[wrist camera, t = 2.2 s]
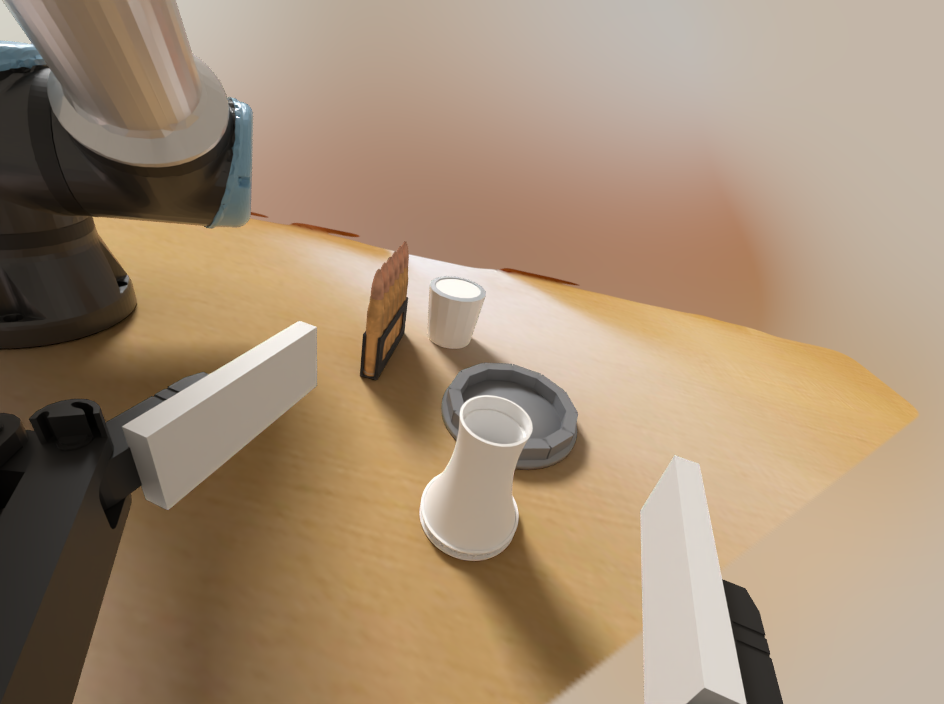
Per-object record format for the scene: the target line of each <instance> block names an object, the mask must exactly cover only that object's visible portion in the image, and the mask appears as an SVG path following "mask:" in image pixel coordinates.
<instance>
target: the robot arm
mask: <svg viewBox="0 0 944 704" xmlns="http://www.w3.org/2000/svg"><path fill="white" fill-rule="evenodd" d="M2 1H3V2H4V4H5V5H6V7H7V8H8V10H9V11H10V12H11V14H12V15H13V17H14V18H15V20H16V21H17V22H18V24H19V25H20V27H21V28H22V30H23V31H24V32H25V34H26V35H27V37H28V38H29V40H30V41H31V42H32V44H27V43H20V42H10V41H0V348H24V347H34V346H43V345H49V344H55V343H60V342H65V341H70V340H74V339H78V338H81V337H85V336H88V335H91V334H94V333H97V332H99V331H102V330H104V329H107V328H109V327H111V326H113V325H115V324H117V323H118V322H120V321H122V320H123V319H125V318H126V317H127V316H128V315H129V314H130V313H131V312H132V311H133V310H134V308H135V306H136V296H135V292H134V289H133V285H132V282H131V280H130V278H129V276H128V275H127V273H126V272H125V271H124V269H123V268H122V267H121V265H120V264H119V262H118V261H117V260H116V258H115V257H114V255H113V254H112V253H111V251H110V250H109V248H108V247H107V246H106V244H105V243H104V242H103V240H102V239H101V237H100V236H99V235H98V233H97V230H96V227H95V224H94V221H93V217H107V218H119V219H130V220H142V221H154V222H166V223H178V224H190V225H202V226H204V227H206V228H214V227H241V226H243V225H245V224H246V223H247V222H248V221H249V219H250V214H251V186H252V136H253V113H252V109H251V108H250V107H249V105H248V104H245V103H243V102H240V101H238V100H237V99H234V98H231V97H228V98H227V96H226V93H225V90H224V88H223V86H222V84H221V82H220V80H219V79H218V78H217V76H216V75H215V74H214V72H213V71H212V70H211V69H210V68H209V67H208V66H207V65H206V64H205V63H204V62H203V61H202V60H201V59H200V58H198V57H197V56H195V55H194V54H193V53H192V51H191V48H190V45H189V41H188V38H187V35H186V32H185V29H184V26H183V22H182V19H181V16H180V13H179V10H178V6H177V3H176V0H2ZM92 216H93V217H92ZM316 386H317V327H315V326H312V325H310V324H307V323H304V322H301V321H298V322H296V323H295V324H293V325H291V326H289V327H288V328H286V329H284V330H283V331H281V332H279V333H278V334H276V335H274V336H273V337H271V338H269V339H268V340H266V341H264V342H263V343H261V344H259V345H258V346H256V347H254V348H253V349H251V350H249V351H248V352H246V353H244V354H243V355H241V356H239V357H237V358H236V359H234V360H232V361H231V362H229V363H227V364H226V365H224V366H222V367H221V368H219V369H217V370H216V371H214V372H212V373H211V374H207V373H204V372H201V373H198V374H195V375H192V376H188V377H185V378H183V379H181V380H179V381H178V382H176V383H174V384H172V385H170V386H169V387H168V388H167V389H163V390H162V391H160V392H158V393H156V394H155V396H154V397H152V396H151V397H149V398H148V399H146V400H144V401H142V402H141V403H139V404H137V405H135V406H134V407H132V408H130V409H128V410H127V411H125V412H123V413H121V414H120V415H118V416H116V417H114V418H113V419H111V420H109V421H107V422H106V423H105V420H104V417H103V414H102V411H101V409H100V406H99V405H98V404H97V403H96V402H94V401H91V400H88V399H70V400H64V401H59V402H56V403H53V404H50V405H47V406H46V407H44V408H42V409H40V410H38V411H37V412H35V413H34V414H33V415H32V416H31V417H30V418H29V420H30V422H31V424H32V426H33V429H34V431H31V430H25V428H24V426H23V424H22V422H21V420H20V419H19V418H18V417H16V416H15V415H13V414H7V413H0V704H72V702H73V699H74V696H75V692H76V689H77V685H78V682H79V679H80V675H81V672H82V668H83V665H84V662H85V658H86V655H87V652H88V648H89V645H90V641H91V638H92V635H93V631H94V628H95V624H96V621H97V618H98V614H99V611H100V608H101V604H102V601H103V597H104V594H105V591H106V587H107V584H108V580H109V577H110V574H111V570H112V567H113V564H114V560H115V557H116V553H117V550H118V547H119V543H120V540H121V536H122V533H123V530H124V526H125V523H126V520H127V516H128V513H129V509H130V506H131V494H130V493H132V492H133V491H134V490H136V489H137V488H139V487H140V486H142V490H143V493H144V496H145V499H146V500H147V501H150V502H152V503H154V504H156V505H158V506H160V507H162V508H164V509H166V510H169V509H170V508H171V507H173V506H174V505H175V504H176V503H177V502H178V501H180V500H181V499H182V498H183V497H184V496H186V495H187V494H188V493H189V492H190V491H192V490H193V489H194V488H195V487H196V486H198V485H199V484H200V483H201V482H202V481H204V480H205V479H206V478H207V477H208V476H210V475H211V474H212V473H213V472H214V471H216V470H217V469H218V468H219V467H220V466H222V465H223V464H224V463H225V462H226V461H228V460H229V459H230V458H231V457H232V456H233V455H235V454H236V453H237V452H238V451H239V450H241V449H242V448H243V447H244V446H245V445H247V444H248V443H249V442H250V441H251V440H253V439H254V438H255V437H256V436H257V435H259V434H260V433H261V432H262V431H263V430H265V429H266V428H267V427H268V426H269V425H271V424H272V423H273V422H274V421H275V420H277V419H278V418H279V417H280V416H281V415H283V414H284V413H285V412H286V411H287V410H288V409H290V408H291V407H292V406H293V405H294V404H296V403H297V402H298V401H299V400H300V399H302V398H303V397H304V396H305V395H306V394H308V393H309V392H310V391H311V390H312V389H314V388H315V387H316ZM640 515H641V561H642V607H643V651H644V698H645V699H644V700H645V704H783V701H782V697H781V694H780V690H779V686H778V682H777V678H776V674H775V670H774V666H773V663H772V659H771V658H770V657H769V655H770V651H769V648H768V643H767V639H765V632H764V628H763V624H762V621H761V616H760V613H759V610H758V609H757V607H756V605H755V604H754V602H753V600H752V599H751V597H750V595H749V594H748V592H747V590H746V589H745V588H743V587H740V586H738V585H735V584H733V583H730V582H727V581H725V580H723V579H722V576H721V571H720V566H719V561H718V556H717V551H716V546H715V541H714V536H713V531H712V526H711V521H710V515H709V510H708V505H707V500H706V495H705V490H704V485H703V480H702V475H701V470H700V465H699V464H698V463H695V462H692V461H690V460H687V459H684V458H681V457H679V456H676V455H674V457H673V459H672V460H671V462H670V463H669V465H668V467H667V468H666V470H665V471H664V473H663V475H662V476H661V478H660V480H659V481H658V483H657V484H656V486H655V488H654V489H653V491H652V493H651V494H650V496H649V497H648V499H647V501H646V502H645V504H644V505H643V507H642V509H641V510H640Z"/></svg>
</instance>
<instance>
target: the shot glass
mask: <svg viewBox="0 0 944 704" xmlns="http://www.w3.org/2000/svg"><path fill="white" fill-rule="evenodd" d="M485 294H486V292H485V290H484V289H483V288H482V287H481V286H480V285H478V284H477V283H475V282H472V281H470V280H467V279H464V278H459V277H449V276H444V277H438V278H435V279H434V280H432V281H431V283H430V291H429V310H428V329H427V335H428V338H429V340H431V341H432V342H433V343H434V344H436V345H439V346H441V347H445V348H450V349H459V348H463V347H466V346H467V345H468V344H469V343H470V341H471V338H472V335H473V332H474V329H475V326H476V323H477V320H478V317H479V314H480V311H481V308H482V305H483V302H484V299H485Z"/></svg>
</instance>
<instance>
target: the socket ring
mask: <svg viewBox="0 0 944 704" xmlns="http://www.w3.org/2000/svg"><path fill="white" fill-rule="evenodd" d="M482 395H491V396H498V397H502V398H505V399H508V400H510V401H512V402H514V403H516V404H517V405H519V406H520V407H521V408H522V409H523V410H524V411H525V412H526V413H527V414H528V415H529V417H530V419H531V421H532V426H533V429H532V433H531V435H530V437H529V439H528V440H527V442H526V444H525V445H524V447H523V449H522V451H521V454H520V456H519V458H518V461H517V464H516V468H515V469H526V470H531V469H540V468H545V467H549V466H551V465H554V464H556V463H558V462H560V461H561V460H563V459H564V458H565V457H566V456H567V455H568V454H569V453H570V452H571V450H572V448H573V446H574V444H575V441H576V438H577V425H576V422H577V417H578V414H577V413H578V412H577V410H576V409H575V407H574V405H573V403H572V402H571V400H570V398H569V397H568V395H567V393H566V392H565V391H564V390H563V389H561V388H560V387H559V386H557V385H556V384H555V383H553V382H552V381H550V380H549V379H548V378H546V377H545V376H544V375H541V374H540V373H537V372H534V371H531V370H528V369H526V368H523V367H520V366H517V365H514V364H513V366H512V364H503V363H481V364H478V365H475V366H472V367H469V368H466V369H464V370H461V372H460V371H459V373H458V374H457V376H456V377H455V379H454V380H453V382H452V383H451V385H450V386H449V387H448V388H447V390H446V391H445V393H444V396H443V400H442V407H441V412H442V418H443V421H444V423H445V426H446V428H447V429H448V431H449V432H450V434H451V435H452V436H453V437H454V439H455V440H456V441H457V437H458V431H459V420H460V409H461V407H462V405H463V404H464V403H465V402H466V401H467V400H469V399H471V398H473V397H477V396H482Z"/></svg>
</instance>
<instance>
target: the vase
mask: <svg viewBox="0 0 944 704" xmlns="http://www.w3.org/2000/svg"><path fill="white" fill-rule="evenodd" d="M532 429H533V426H532V421H531V419H530V417H529V415H528V414H527V413H526V412H525V411H524V410H523V409H522V408H521V407H520V406H519V405H517V404H516V403H514V402H512V401H510V400H508V399H505V398H502V397H498V396H491V395H482V396H477V397H473V398H471V399H469V400H467V401H466V402H465V403H464V404H463V405H462V407H461V409H460V420H459V431H458V437H457V442H456V445H455V449H454V452H453V454H452V457H451V459H450V461H449V463H448V465H447V467H446V468H445V470H444V471H443V473H441V474H439V475H437V476H436V477H434V478H433V479H432V480H431V481H430V482H429V483H428V485H427V486H426V488H425V490H424V492H423V495H422V499H421V504H420V513H419V514H420V521H421V525H422V528H423V530H424V532H425V534H426V535H427V537H428V538H429V540H430V541H431V542H432V543H433V544H434V545H435V546H436V547H437V548H438V549H440V550H441V551H443V552H444V553H446V554H448V555H450V556H452V557H455V558H458V559H462V560H468V561H480V560H486V559H489V558H492V557H494V556H496V555H498V554H499V553H501V552H502V551H503V550H504V549H505V548H506V547H507V546H508V545H509V544H510V542H511V540H512V538H513V536H514V533H515V531H516V528H517V525H518V508H517V505H516V502H515V500H514V498H513V496H512V484H513V476H514V471H515V468H516V464H517V461H518V458H519V456H520V454H521V451H522V449H523V447H524V445H525V444H526V442H527V440H528V439H529V437H530V435H531V433H532Z"/></svg>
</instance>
